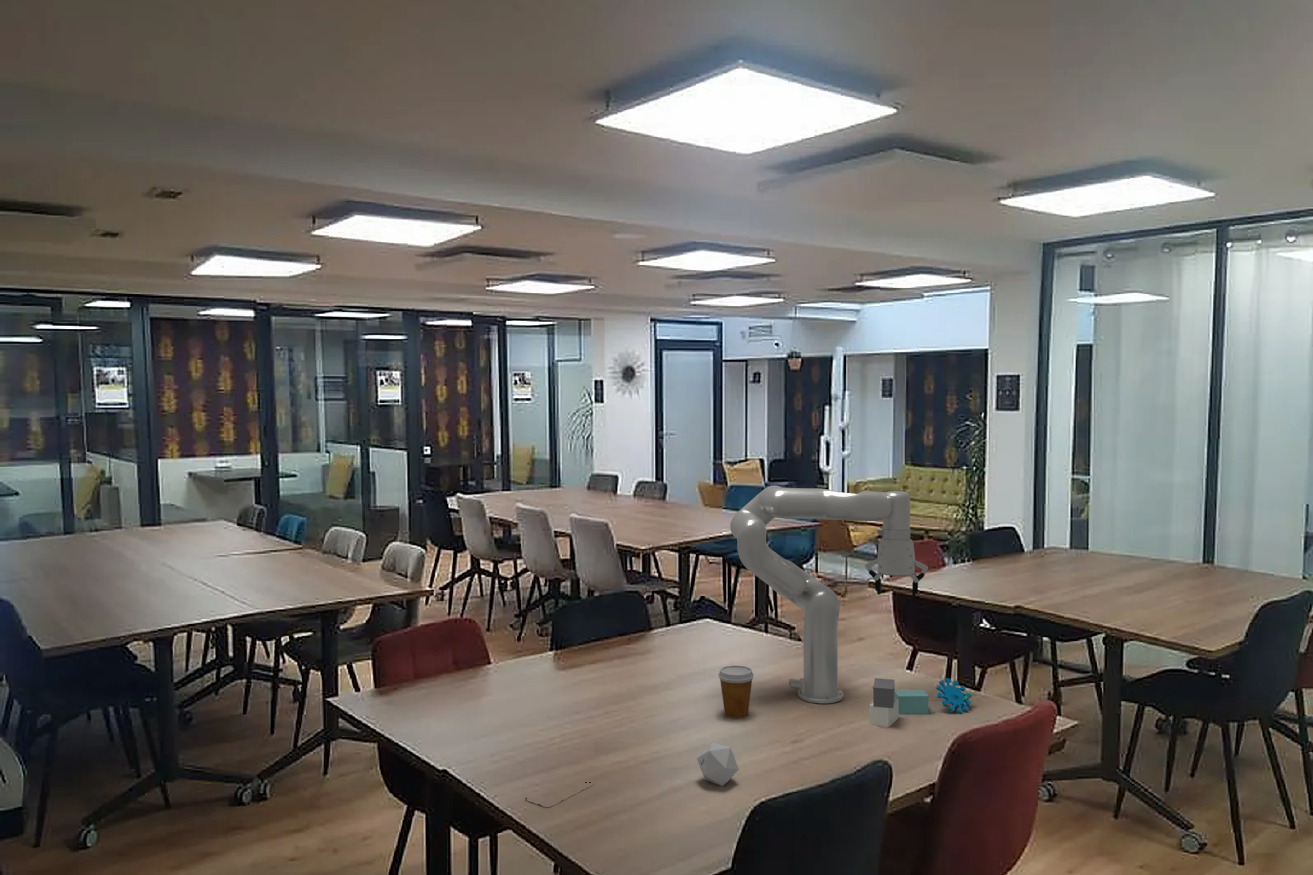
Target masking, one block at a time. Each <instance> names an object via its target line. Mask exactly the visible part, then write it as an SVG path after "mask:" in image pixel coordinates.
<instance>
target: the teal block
mask: <svg viewBox="0 0 1313 875" xmlns="http://www.w3.org/2000/svg"><path fill="white" fill-rule="evenodd" d="M894 699H898V712H899V715H929V713H930V711H929V708H930V707H929V706H930V705H929V695H928V694H927V692H926V691H925V690H924V689H901V690H900V689H897V690H896V689H894Z"/></svg>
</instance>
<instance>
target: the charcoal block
mask: <svg viewBox="0 0 1313 875" xmlns="http://www.w3.org/2000/svg"><path fill="white" fill-rule="evenodd" d="M872 687H873V688H872V694H873V695H872V698H873V699H872V700H873V702H872V703H873V707H884V708H893V707H894V690H895V679H892V678H879V677H878V678H877V677H875V678H874V682H873V685H872Z"/></svg>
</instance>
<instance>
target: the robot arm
mask: <svg viewBox="0 0 1313 875" xmlns="http://www.w3.org/2000/svg"><path fill="white" fill-rule="evenodd" d="M775 518H777V519H778V518H779V519H805V520H806V519H808V520H810V519H811V520H828V521H829V520H830V521H831V520H833V521H836V520H837V521H850V522H851V521H854V522H855V521H857V522H880V521H882V529H880V530H879V529H877V536H878V535H880V536H882V537H881V538H880V539H879V544H878V551H877V558H876V559H873V560H871V561H869V562H866V563H865V569H866V570H867V572H868V574H869V576H870V577H872V578H873V580H874V582H875V583H874V586H875V588H874V591H875V592H877V595H878V596H879V595H881V594H882V579H881V577H882V576H895V577H909V578H911V580H912V583H911V584H912V588H911V589H912V591H911V593H912V594H911V595H912V597H914V598H915V597H916V595H917V594H918V593H919V582H920V581H921V580H922V579H923V578H924V577H925V576H926V574H927V572H928V570H929V567H928V565H927V564H924V563H923V562H920V561H918V560H916V555H915V554H916V553H915V547H914V546H915V545H914V542H913V539H911V495H910V494H909V492H906V491H902V490H891V491H889V490H888V491H874V490H862V491H860V492H858V493H850V492H849V493H847V492H842V491H841V492H840V491H836V490H831V489H826V488H804V487H803V488H798V487H783V486H779V485H770V486H767V487H765V488H764V489H763V490H761V491H760V492H759V493H757V495H755V497H753V498H752V499H751V500H750V501H748V503H746V504H745V505H744V506H743V507H742V508H741V509H739V510H738V511H737V512H736V513H735V514H734V515H733V517H732V518H731V521H730V525H729V529H730V532H731V534H732V535H733V538H735V539H737V543H736V545H737V546H736V547H737V548H736V550H737V553H738V557H739V559H740V562H741V563H742V565H743V566H744V567H745V568H746V569H747V570H748V571H749V572H750V573H752V574H753V575H755V576H756V577H757V578H759V580H761V581H763V582H764V583H765V584H767V585H768V586H769V587H770V588H771V589H772V590H773V591H775V592H776V593H777V594H779V595H781V596H783V597H784V598H785V599H787V600H788V601H790V602H791V603H793V604H794V605H795V606H797V607H799V608H800V609H801V610H802V611H804V622H803V630H802V632H803V633H802V638H803V640H802V643H803V644H802V646H803V649H802V650H803V652H802V653H803V678H799V679H796V678H788V686H790V688H792V689H793V688H794V689H798V691H797V692H798V693H797V694H798V696H797V697H799V698H800V699H801V700H803V701H806V702H809V703H813V704H814V703H815V704H833V703H837V702H840V701H842V700H843V699H844V692H843V691H842V690H841V689H839V685H838V684H839V682H838V679H839V677H838V674H839V673H838V672H839V671H838V670H839V668H838V665H839V664H838V661H839V660H838V659H839V658H838V654H839V653H838V651H839V650H838V630H839V628H838V626H839V617H840V610H841V609H840V601H839V598H838V596H837V594H836V593H835V592H834V591H833V590H832V589H831V588H830V587H828V586H827V585H825V584H823V583H822V582H821V581H819V580H818V579H816V578H815V577H813V576H812V575H810V574H809V573H808V572H806V571H805V570H804V569H802V568H801V567H799V566H798V565H796V564H795V563H794V562H793V561H791V560H789V559H785V558H784V557H782V556H781V555H779V554H778V553H777V552H775V551H774V550H773V549H771V548H770V547H769V545H768V544H767V527H766V526H767V525H768V524H769V523H771V521H773V520H774V519H775ZM875 565H876V566H877V573H876V572H875V571H874V569H873V568H872V567H873V566H875ZM916 567H917V568H920V569H921V572H920V573H918V575H917V574H916V572H915V571H916Z"/></svg>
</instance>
